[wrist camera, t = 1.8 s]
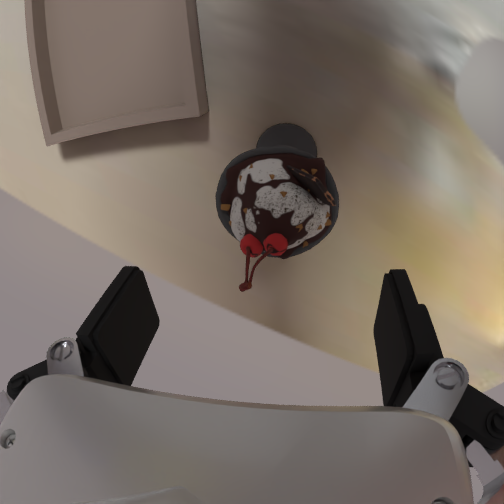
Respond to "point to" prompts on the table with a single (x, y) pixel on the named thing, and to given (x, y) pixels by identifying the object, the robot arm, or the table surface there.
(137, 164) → the table surface
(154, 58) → the tray
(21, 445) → the robot arm
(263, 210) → the sundae
